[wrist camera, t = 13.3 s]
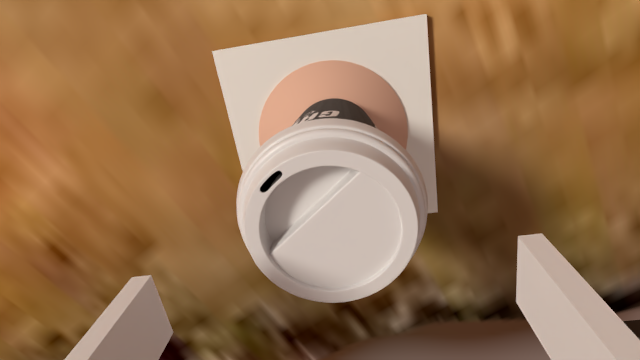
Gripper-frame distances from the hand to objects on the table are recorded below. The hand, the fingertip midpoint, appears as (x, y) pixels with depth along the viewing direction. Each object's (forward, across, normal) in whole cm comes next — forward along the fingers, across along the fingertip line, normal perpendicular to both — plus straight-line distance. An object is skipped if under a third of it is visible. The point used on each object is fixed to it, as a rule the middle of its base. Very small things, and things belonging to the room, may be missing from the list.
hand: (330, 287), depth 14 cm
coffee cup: (+19, 0, 0) cm, 19 cm away
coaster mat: (+20, 0, 0) cm, 20 cm away
